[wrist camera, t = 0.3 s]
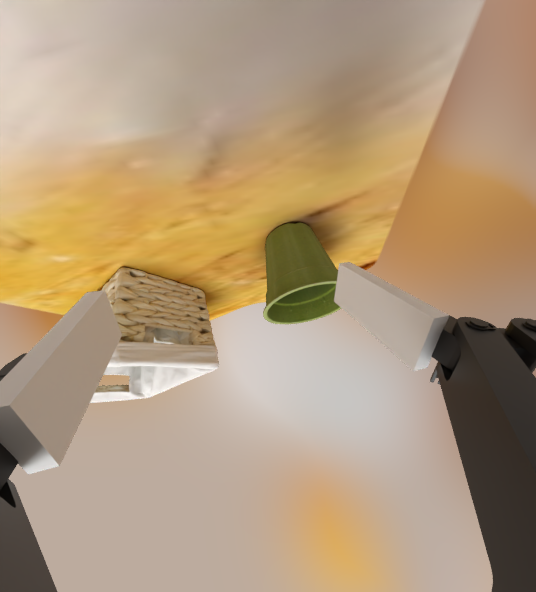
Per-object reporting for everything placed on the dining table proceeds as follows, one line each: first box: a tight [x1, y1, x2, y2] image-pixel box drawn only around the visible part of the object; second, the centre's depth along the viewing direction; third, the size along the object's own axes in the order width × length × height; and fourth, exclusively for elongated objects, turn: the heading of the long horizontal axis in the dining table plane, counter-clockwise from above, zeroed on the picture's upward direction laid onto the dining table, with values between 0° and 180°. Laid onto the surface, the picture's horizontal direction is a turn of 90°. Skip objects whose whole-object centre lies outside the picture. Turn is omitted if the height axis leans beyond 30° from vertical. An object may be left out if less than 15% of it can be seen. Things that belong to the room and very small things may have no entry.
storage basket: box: [90, 267, 219, 403], centre depth 38 cm, size 24×16×15 cm
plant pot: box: [263, 223, 341, 324], centre depth 31 cm, size 12×12×11 cm
